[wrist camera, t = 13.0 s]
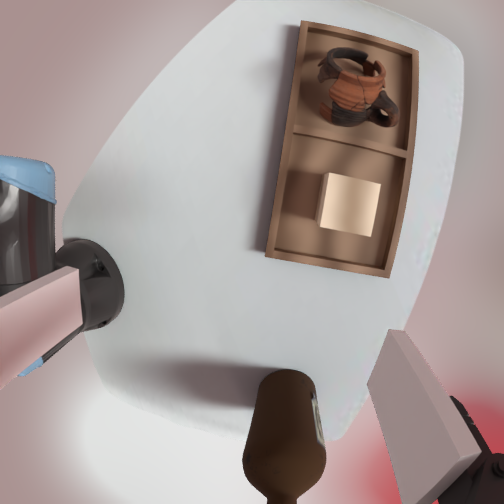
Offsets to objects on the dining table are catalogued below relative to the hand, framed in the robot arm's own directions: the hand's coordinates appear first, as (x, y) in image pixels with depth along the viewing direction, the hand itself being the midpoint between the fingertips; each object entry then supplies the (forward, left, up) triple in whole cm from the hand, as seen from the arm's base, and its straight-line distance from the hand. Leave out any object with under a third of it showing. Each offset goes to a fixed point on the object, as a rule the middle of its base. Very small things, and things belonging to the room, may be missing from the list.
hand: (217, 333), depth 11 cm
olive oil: (+8, -26, -29) cm, 40 cm away
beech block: (+9, +5, -28) cm, 30 cm away
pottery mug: (+9, +19, -28) cm, 35 cm away
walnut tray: (+9, +13, -29) cm, 33 cm away
